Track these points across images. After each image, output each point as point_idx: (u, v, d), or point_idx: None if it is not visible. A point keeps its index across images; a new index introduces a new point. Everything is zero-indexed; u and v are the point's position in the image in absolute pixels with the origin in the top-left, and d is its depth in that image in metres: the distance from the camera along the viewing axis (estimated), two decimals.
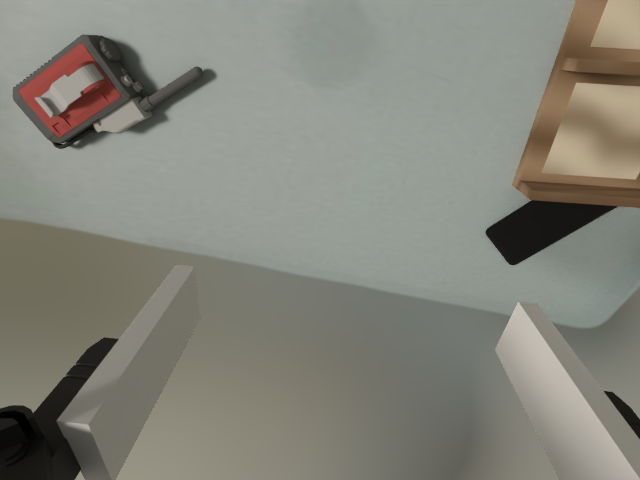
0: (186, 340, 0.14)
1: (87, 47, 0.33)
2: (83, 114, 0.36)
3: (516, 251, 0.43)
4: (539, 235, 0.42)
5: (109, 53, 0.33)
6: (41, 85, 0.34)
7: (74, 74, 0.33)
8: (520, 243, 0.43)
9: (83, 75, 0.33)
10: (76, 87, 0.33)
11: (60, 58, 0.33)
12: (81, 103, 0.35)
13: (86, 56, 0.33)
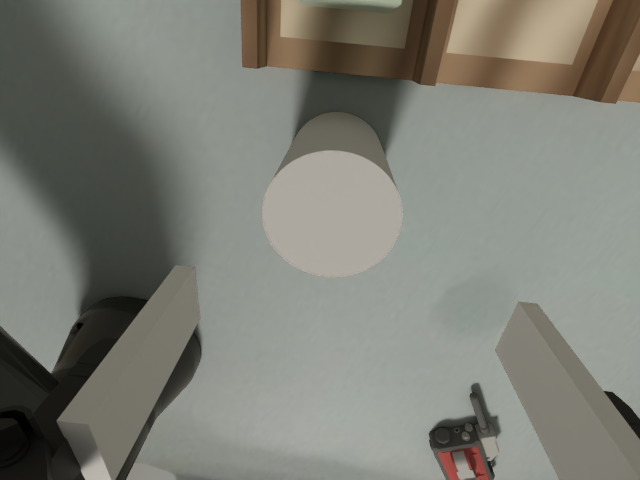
0: (186, 340, 0.14)
1: (441, 451, 0.47)
2: (480, 466, 0.48)
3: None
4: None
5: (446, 440, 0.46)
6: (454, 477, 0.49)
7: (458, 468, 0.46)
8: None
9: (460, 465, 0.46)
10: (466, 470, 0.46)
11: (442, 463, 0.48)
12: (473, 465, 0.48)
13: (446, 454, 0.47)
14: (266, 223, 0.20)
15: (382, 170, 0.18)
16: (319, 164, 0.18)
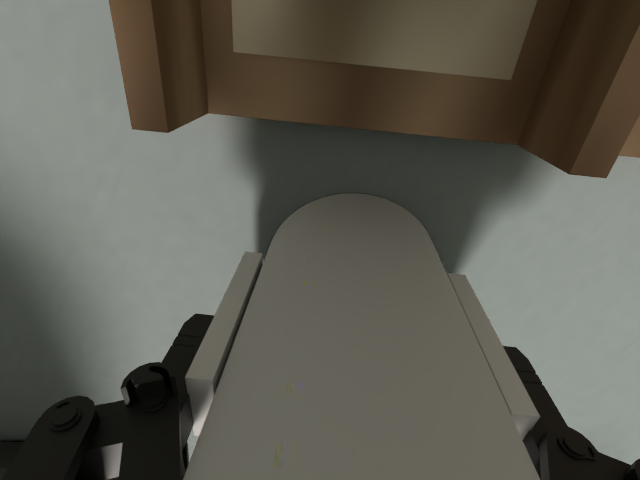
0: None
1: None
2: None
3: None
4: None
5: None
6: None
7: None
8: None
9: None
10: None
11: None
12: None
13: None
14: None
15: None
16: None
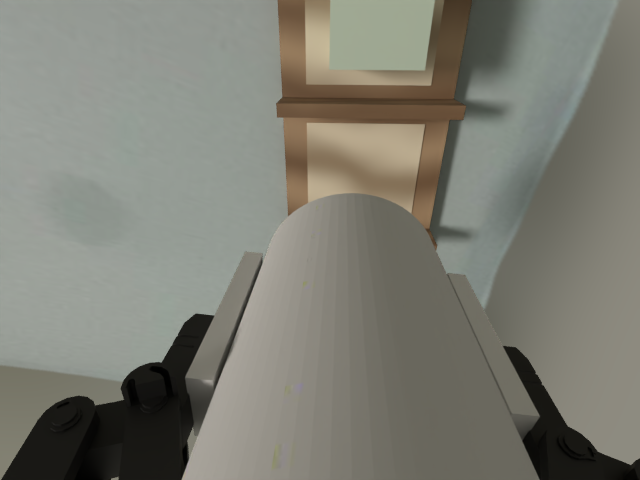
0: None
1: None
2: None
3: None
4: None
5: None
6: None
7: None
8: None
9: None
10: None
11: None
12: None
13: None
14: None
15: None
16: None
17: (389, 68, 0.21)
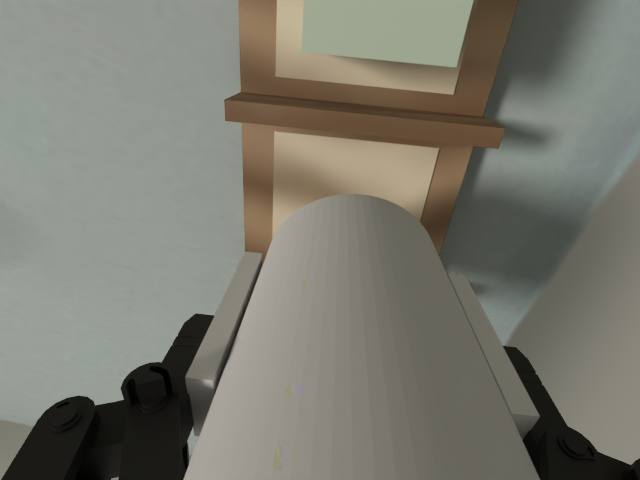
0: None
1: None
2: None
3: None
4: None
5: None
6: None
7: None
8: None
9: None
10: None
11: None
12: None
13: None
14: None
15: None
16: None
17: (399, 59, 0.13)
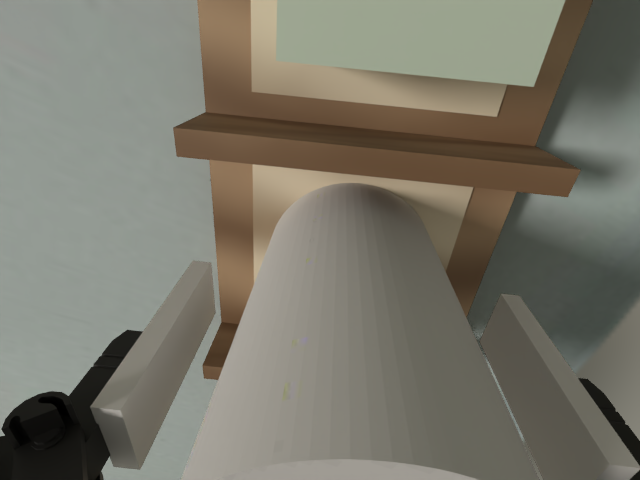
0: (203, 334, 0.14)
1: None
2: None
3: None
4: None
5: None
6: None
7: None
8: None
9: None
10: None
11: None
12: None
13: None
14: None
15: None
16: None
17: (439, 72, 0.08)
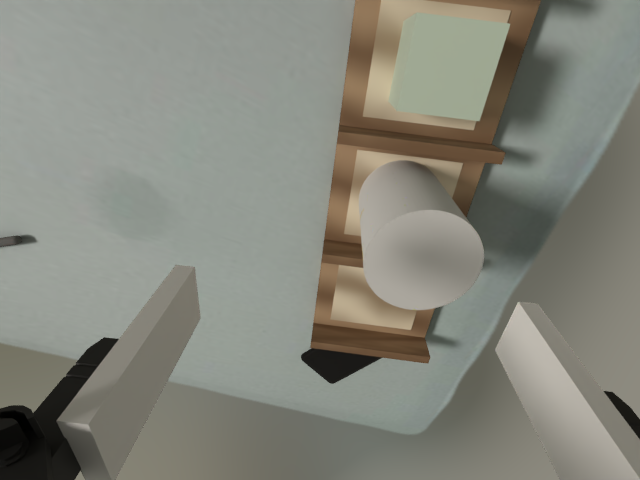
0: (186, 340, 0.14)
1: None
2: None
3: (331, 373, 0.48)
4: (346, 362, 0.47)
5: None
6: None
7: None
8: (332, 367, 0.47)
9: None
10: None
11: None
12: None
13: None
14: (366, 264, 0.24)
15: (471, 226, 0.22)
16: (419, 220, 0.22)
17: (449, 116, 0.25)
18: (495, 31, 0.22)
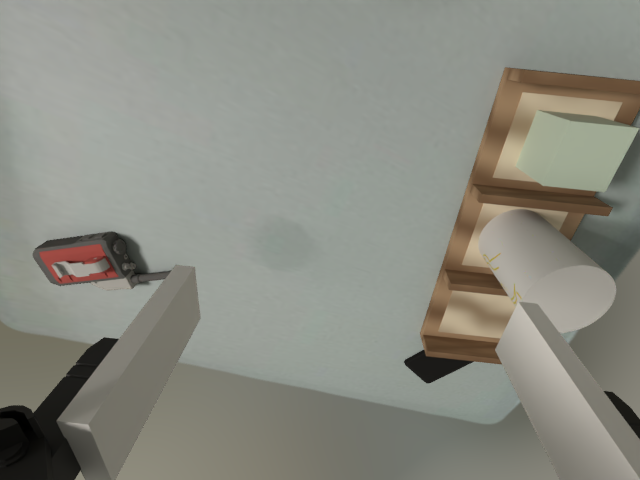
0: (186, 340, 0.14)
1: (103, 248, 0.45)
2: (85, 278, 0.48)
3: (428, 375, 0.57)
4: (444, 365, 0.56)
5: (118, 252, 0.46)
6: (59, 256, 0.46)
7: (88, 264, 0.45)
8: (430, 370, 0.56)
9: (95, 267, 0.45)
10: (87, 271, 0.46)
11: (80, 246, 0.46)
12: None
13: (100, 252, 0.46)
14: None
15: (610, 275, 0.30)
16: (572, 272, 0.30)
17: (582, 188, 0.33)
18: (627, 132, 0.30)
